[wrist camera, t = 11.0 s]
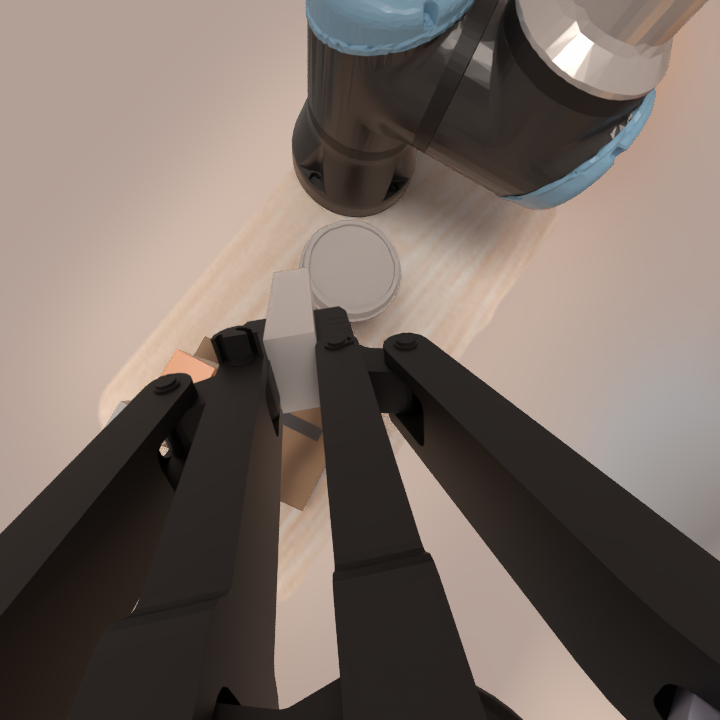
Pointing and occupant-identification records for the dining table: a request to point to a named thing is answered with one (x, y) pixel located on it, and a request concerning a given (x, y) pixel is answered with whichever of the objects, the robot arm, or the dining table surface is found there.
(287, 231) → the dining table surface
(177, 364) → the orange topped beige block
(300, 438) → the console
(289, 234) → the dining table surface
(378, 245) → the disposable coffee cup
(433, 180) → the dining table surface
